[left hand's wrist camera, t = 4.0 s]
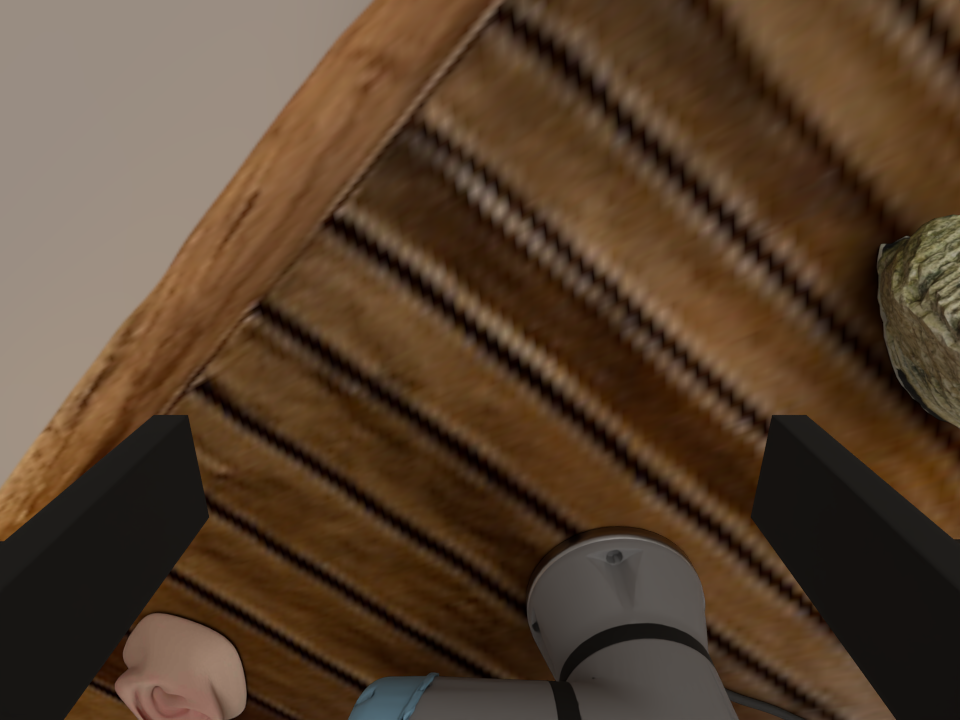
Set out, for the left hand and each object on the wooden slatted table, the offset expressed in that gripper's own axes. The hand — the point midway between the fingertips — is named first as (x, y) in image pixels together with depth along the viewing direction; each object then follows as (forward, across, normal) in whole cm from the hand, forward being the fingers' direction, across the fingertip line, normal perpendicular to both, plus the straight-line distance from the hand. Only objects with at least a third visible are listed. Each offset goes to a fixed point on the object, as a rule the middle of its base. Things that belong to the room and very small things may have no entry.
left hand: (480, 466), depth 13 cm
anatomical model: (+28, -28, -40) cm, 56 cm away
